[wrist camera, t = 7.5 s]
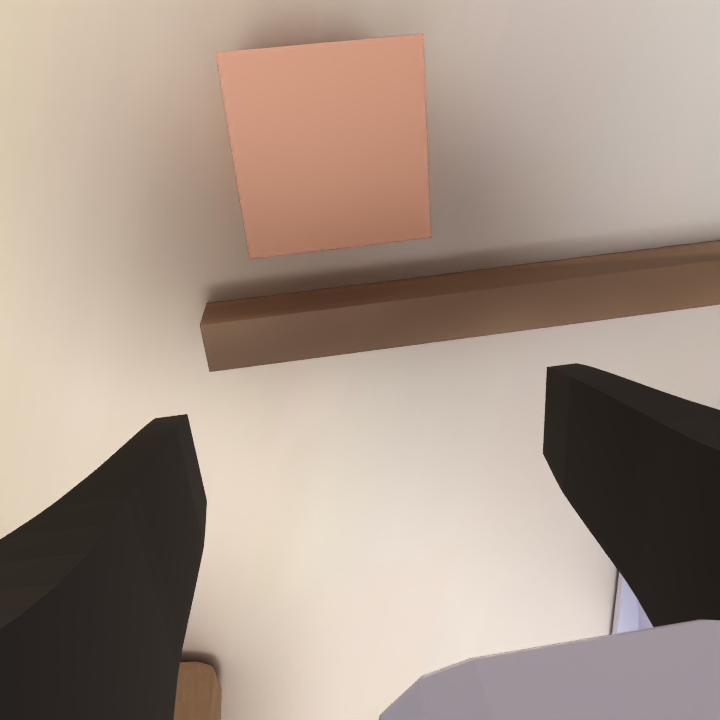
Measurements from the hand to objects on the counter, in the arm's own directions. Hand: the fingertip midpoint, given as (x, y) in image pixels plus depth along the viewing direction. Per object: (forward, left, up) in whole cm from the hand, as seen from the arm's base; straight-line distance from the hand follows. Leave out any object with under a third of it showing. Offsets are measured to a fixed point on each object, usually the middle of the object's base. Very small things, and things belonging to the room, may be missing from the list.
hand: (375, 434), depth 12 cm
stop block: (+5, 0, -9) cm, 10 cm away
